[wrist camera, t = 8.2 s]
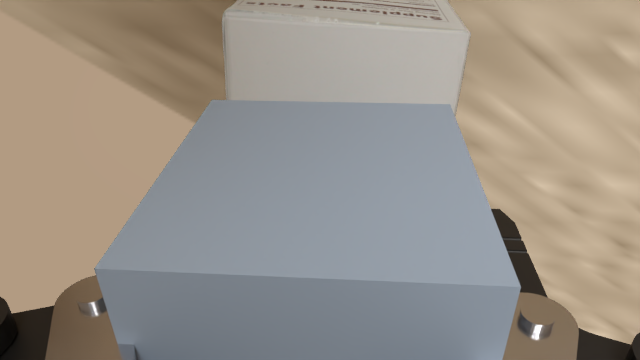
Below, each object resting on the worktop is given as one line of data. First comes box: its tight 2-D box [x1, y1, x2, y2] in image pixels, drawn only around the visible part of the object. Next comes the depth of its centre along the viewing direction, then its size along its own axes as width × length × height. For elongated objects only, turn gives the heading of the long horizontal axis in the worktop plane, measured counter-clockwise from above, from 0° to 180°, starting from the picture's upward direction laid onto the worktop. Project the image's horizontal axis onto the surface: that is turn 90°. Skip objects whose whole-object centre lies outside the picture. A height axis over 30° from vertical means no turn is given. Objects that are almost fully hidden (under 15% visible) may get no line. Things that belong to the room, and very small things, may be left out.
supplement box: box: [222, 0, 471, 116], centre depth 21 cm, size 7×7×13 cm
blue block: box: [94, 100, 521, 360], centre depth 10 cm, size 6×6×6 cm
